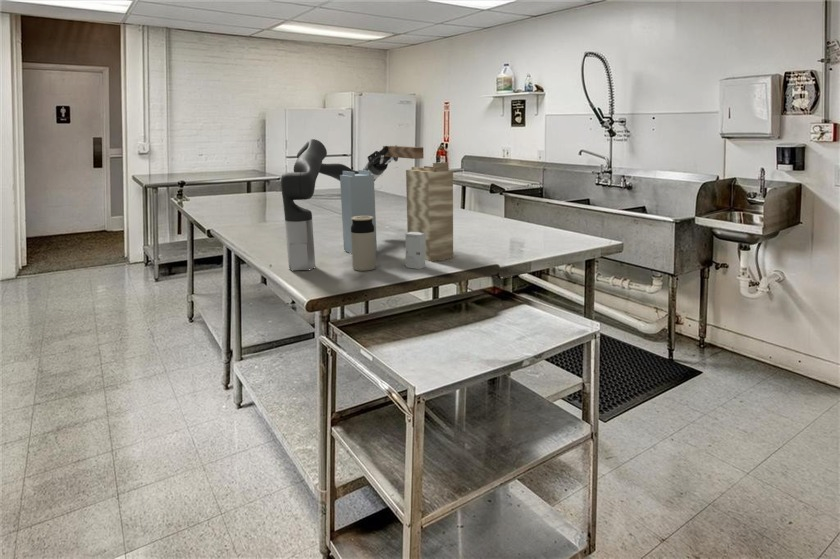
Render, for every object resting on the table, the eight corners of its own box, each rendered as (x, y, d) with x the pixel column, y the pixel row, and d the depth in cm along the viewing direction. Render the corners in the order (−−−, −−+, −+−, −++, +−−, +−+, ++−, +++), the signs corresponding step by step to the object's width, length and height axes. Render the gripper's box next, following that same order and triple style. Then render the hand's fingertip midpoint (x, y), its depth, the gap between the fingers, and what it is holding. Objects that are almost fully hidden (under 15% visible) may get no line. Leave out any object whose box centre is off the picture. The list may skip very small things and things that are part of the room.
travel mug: (380, 268, 195) (378, 216, 190) (363, 272, 189) (361, 219, 185) (365, 264, 200) (362, 214, 195) (348, 269, 195) (345, 217, 190)
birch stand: (453, 257, 208) (452, 162, 199) (430, 261, 203) (429, 163, 194) (429, 250, 221) (428, 160, 212) (408, 253, 216) (405, 161, 207)
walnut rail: (423, 158, 209) (423, 147, 208) (414, 158, 207) (414, 147, 206) (391, 155, 229) (391, 145, 228) (383, 156, 227) (382, 146, 226)
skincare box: (405, 267, 195) (404, 233, 192) (411, 264, 199) (410, 231, 196) (420, 269, 192) (419, 234, 189) (426, 266, 196) (426, 232, 193)
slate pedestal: (376, 251, 220) (373, 170, 212) (354, 255, 215) (349, 172, 207) (366, 248, 228) (363, 169, 219) (344, 251, 223) (339, 171, 214)
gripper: (358, 160, 235) (373, 139, 221) (387, 158, 242) (404, 138, 228) (362, 176, 234) (379, 156, 219) (392, 174, 241) (409, 155, 226)
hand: (392, 147), depth 224 cm, fingers closed on walnut rail, 4 cm apart
